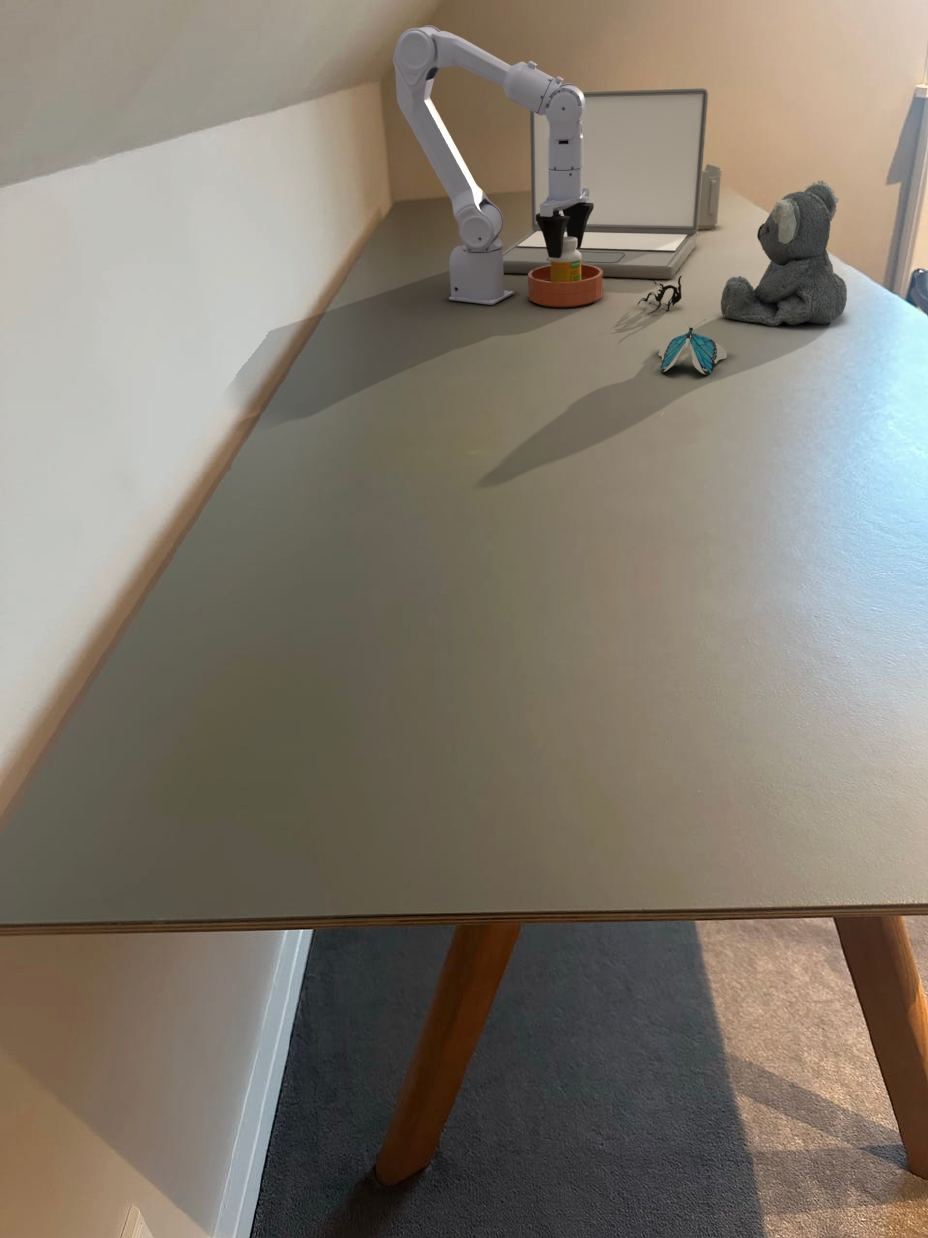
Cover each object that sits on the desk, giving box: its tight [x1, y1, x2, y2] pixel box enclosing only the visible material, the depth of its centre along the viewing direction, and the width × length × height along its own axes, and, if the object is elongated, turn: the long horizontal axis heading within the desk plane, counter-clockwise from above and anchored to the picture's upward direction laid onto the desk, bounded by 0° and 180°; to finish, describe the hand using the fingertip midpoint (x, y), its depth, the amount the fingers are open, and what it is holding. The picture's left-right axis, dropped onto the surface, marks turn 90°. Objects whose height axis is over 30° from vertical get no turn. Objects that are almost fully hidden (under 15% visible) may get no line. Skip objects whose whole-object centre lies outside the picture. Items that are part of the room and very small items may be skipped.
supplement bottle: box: [551, 237, 581, 282], centre depth 167 cm, size 5×5×10 cm
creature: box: [636, 275, 683, 315], centre depth 160 cm, size 8×5×8 cm
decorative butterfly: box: [658, 318, 728, 376], centre depth 136 cm, size 10×6×10 cm
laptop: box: [503, 87, 709, 280], centre depth 184 cm, size 36×28×29 cm
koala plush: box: [720, 179, 848, 327], centre depth 149 cm, size 17×18×20 cm
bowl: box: [527, 264, 604, 308], centre depth 168 cm, size 13×13×4 cm
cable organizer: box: [698, 163, 723, 230], centre depth 208 cm, size 7×12×12 cm, turn 13°
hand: (564, 252), depth 165 cm, fingers open, 7 cm apart
